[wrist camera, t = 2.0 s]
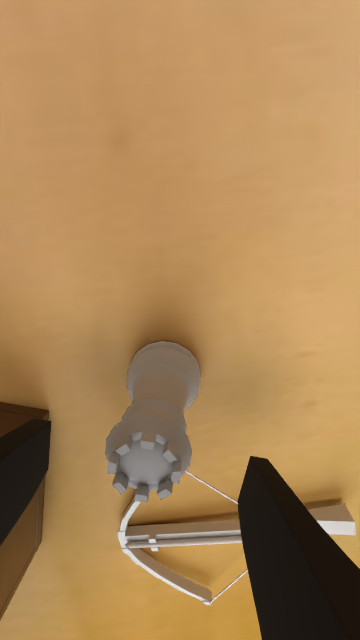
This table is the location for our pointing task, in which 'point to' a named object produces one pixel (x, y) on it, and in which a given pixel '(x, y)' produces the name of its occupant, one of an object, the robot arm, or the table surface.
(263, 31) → the table surface
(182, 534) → the crossbow
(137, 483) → the rook chess piece
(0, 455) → the robot arm
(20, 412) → the crate
